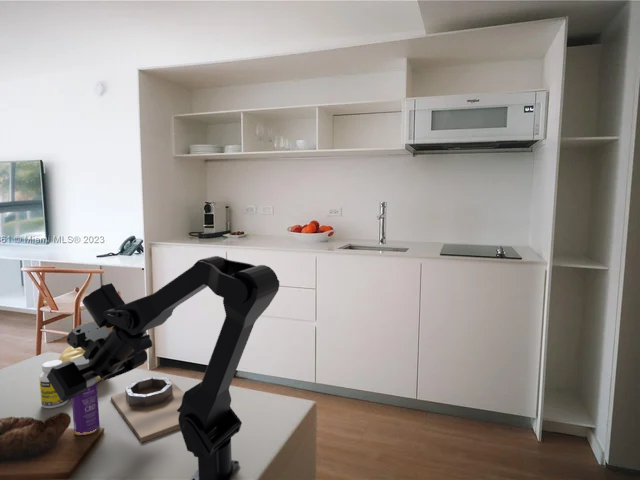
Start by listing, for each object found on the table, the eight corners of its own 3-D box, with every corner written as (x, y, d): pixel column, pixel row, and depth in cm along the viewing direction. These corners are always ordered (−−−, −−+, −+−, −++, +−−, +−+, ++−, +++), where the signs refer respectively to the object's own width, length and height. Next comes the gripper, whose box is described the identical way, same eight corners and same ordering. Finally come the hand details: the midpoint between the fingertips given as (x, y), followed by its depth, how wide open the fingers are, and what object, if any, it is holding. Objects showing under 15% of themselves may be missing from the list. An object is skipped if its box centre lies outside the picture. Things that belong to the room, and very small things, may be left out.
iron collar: (157, 408, 96) (156, 397, 95) (118, 404, 97) (117, 394, 97) (178, 388, 105) (178, 378, 105) (142, 385, 107) (142, 375, 106)
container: (88, 437, 87) (83, 366, 85) (68, 434, 88) (63, 364, 86) (104, 424, 91) (100, 357, 89) (85, 422, 92) (80, 355, 90)
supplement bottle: (38, 410, 97) (34, 369, 96) (46, 399, 102) (42, 359, 101) (65, 407, 98) (61, 366, 97) (71, 396, 104) (68, 357, 102)
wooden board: (207, 417, 94) (207, 413, 94) (141, 442, 85) (140, 437, 85) (169, 382, 110) (169, 379, 110) (110, 400, 102) (110, 396, 101)
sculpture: (72, 397, 103) (68, 354, 102) (51, 383, 110) (47, 343, 109) (118, 380, 112) (116, 340, 111) (96, 368, 119) (93, 331, 118)
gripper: (135, 300, 92) (102, 341, 98) (49, 326, 75) (16, 374, 81) (164, 341, 90) (129, 381, 96) (82, 377, 73) (46, 423, 79)
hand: (83, 387), depth 88 cm, fingers open, 9 cm apart
